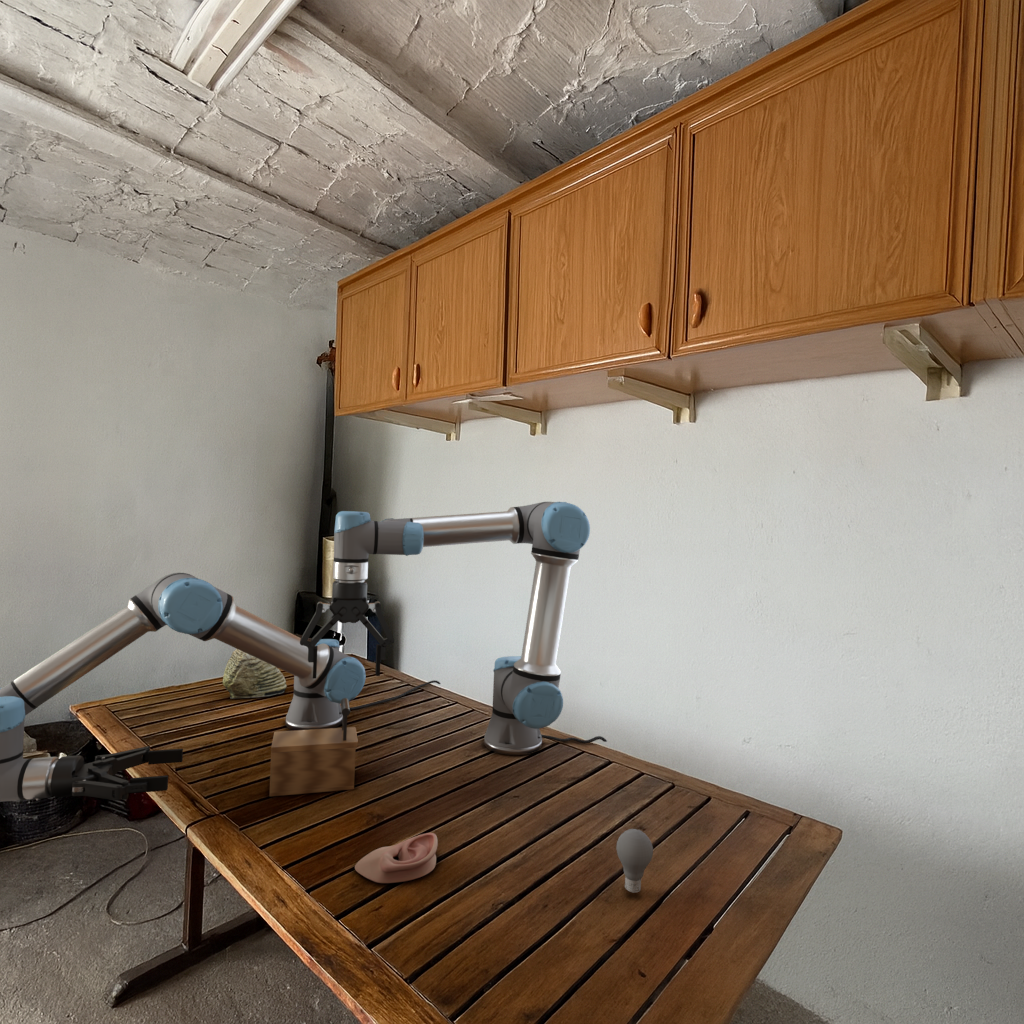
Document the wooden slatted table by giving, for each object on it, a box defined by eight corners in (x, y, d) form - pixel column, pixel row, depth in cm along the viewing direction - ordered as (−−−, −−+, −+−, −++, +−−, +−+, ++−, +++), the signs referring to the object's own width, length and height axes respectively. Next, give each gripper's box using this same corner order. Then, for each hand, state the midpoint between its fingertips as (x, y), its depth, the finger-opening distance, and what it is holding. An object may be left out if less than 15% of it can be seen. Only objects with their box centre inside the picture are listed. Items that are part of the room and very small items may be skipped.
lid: (355, 732, 147) (357, 696, 146) (357, 747, 138) (359, 709, 138) (274, 736, 141) (275, 699, 141) (271, 753, 133) (272, 713, 132)
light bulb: (610, 879, 108) (613, 822, 108) (644, 879, 109) (647, 822, 109) (619, 902, 102) (622, 840, 102) (655, 901, 103) (658, 840, 103)
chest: (351, 771, 147) (353, 732, 146) (353, 789, 138) (355, 747, 138) (272, 777, 142) (274, 737, 141) (269, 796, 133) (271, 753, 133)
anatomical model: (347, 854, 106) (375, 820, 117) (346, 877, 106) (374, 841, 117) (422, 866, 103) (444, 831, 114) (421, 891, 103) (443, 853, 114)
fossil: (218, 695, 195) (220, 647, 195) (278, 685, 208) (279, 640, 207) (228, 703, 189) (230, 653, 188) (289, 692, 201) (290, 645, 201)
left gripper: (79, 769, 137) (187, 761, 143) (27, 827, 114) (159, 815, 120) (80, 734, 137) (188, 728, 143) (28, 786, 113) (161, 776, 119)
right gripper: (290, 582, 133) (286, 682, 134) (408, 583, 141) (404, 678, 141) (291, 578, 141) (288, 673, 141) (404, 578, 148) (400, 669, 148)
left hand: (175, 768), depth 131 cm, fingers open, 13 cm apart
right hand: (346, 675), depth 141 cm, fingers open, 13 cm apart
